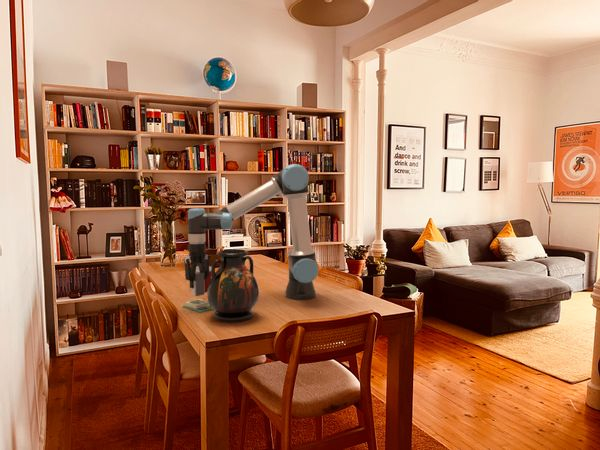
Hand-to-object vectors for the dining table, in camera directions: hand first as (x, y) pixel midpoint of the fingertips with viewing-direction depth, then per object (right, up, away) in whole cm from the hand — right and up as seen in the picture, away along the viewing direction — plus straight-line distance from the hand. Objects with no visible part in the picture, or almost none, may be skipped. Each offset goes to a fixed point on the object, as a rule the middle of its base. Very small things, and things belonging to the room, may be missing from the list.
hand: (197, 293), depth 202 cm
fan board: (+1, -6, -1) cm, 6 cm away
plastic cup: (-4, -3, +31) cm, 31 cm away
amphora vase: (+18, -8, -15) cm, 25 cm away
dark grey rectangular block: (0, 0, 0) cm, 0 cm away
